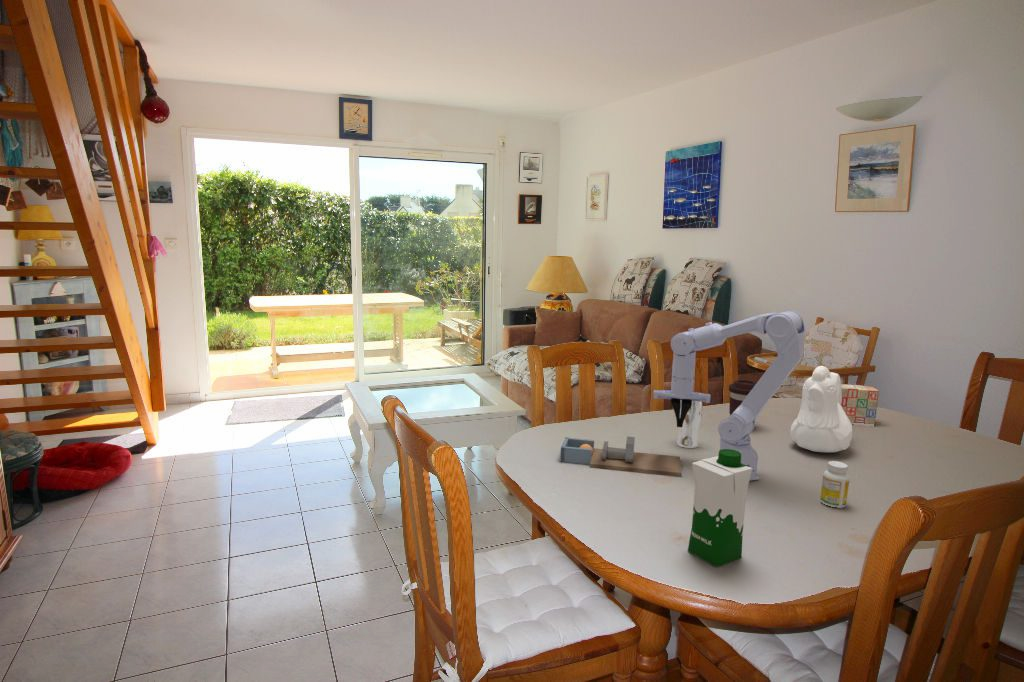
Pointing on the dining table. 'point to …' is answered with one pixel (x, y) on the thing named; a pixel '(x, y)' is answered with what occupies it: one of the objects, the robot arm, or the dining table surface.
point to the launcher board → (640, 463)
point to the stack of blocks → (860, 403)
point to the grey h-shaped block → (620, 451)
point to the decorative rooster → (822, 415)
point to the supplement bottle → (835, 485)
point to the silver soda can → (690, 426)
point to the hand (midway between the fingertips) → (679, 426)
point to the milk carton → (719, 507)
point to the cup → (576, 451)
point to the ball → (587, 447)
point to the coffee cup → (739, 393)
